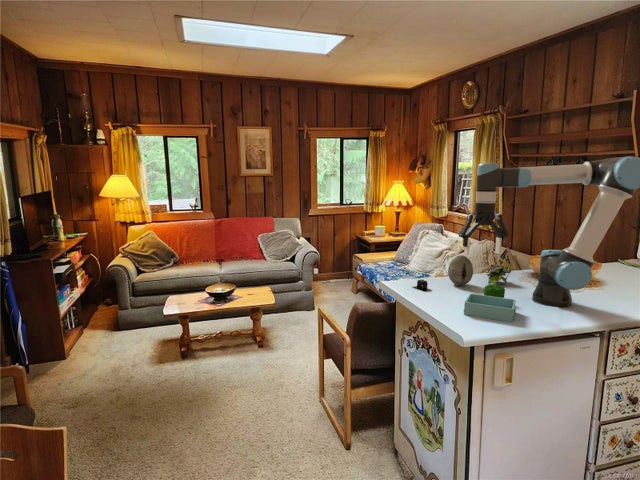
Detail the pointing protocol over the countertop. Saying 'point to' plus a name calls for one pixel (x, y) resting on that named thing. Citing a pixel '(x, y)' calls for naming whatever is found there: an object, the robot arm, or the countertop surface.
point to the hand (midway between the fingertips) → (482, 254)
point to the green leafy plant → (498, 274)
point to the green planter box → (490, 307)
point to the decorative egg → (460, 270)
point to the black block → (422, 286)
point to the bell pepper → (494, 290)
